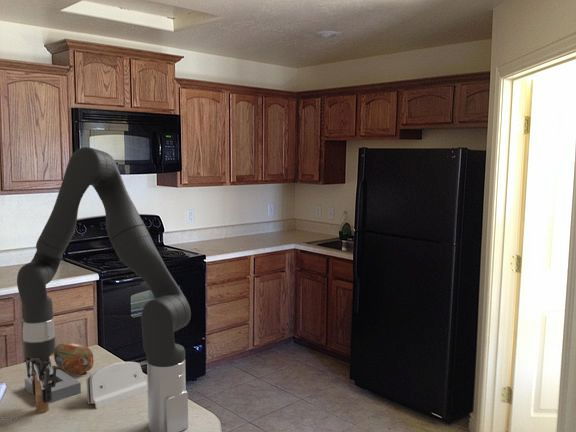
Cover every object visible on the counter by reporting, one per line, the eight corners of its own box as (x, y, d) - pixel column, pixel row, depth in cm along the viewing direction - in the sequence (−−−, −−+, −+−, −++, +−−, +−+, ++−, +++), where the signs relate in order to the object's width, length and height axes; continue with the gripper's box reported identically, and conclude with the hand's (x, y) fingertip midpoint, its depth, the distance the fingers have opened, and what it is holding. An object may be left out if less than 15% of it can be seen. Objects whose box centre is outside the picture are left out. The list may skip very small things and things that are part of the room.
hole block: (80, 392, 151) (80, 382, 151) (45, 404, 144) (44, 393, 144) (59, 378, 161) (58, 369, 161) (25, 388, 154) (24, 378, 153)
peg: (50, 410, 141) (49, 374, 140) (39, 414, 138) (37, 377, 137) (45, 406, 143) (44, 371, 142) (34, 410, 141) (32, 374, 139)
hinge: (95, 409, 141) (88, 371, 143) (88, 409, 145) (81, 372, 146) (150, 390, 154) (143, 355, 155) (142, 390, 157) (135, 356, 158)
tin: (53, 367, 169) (52, 342, 168) (61, 364, 172) (60, 339, 171) (87, 376, 163) (87, 350, 162) (95, 372, 166) (95, 346, 165)
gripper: (65, 339, 136) (68, 402, 138) (42, 326, 146) (44, 385, 148) (35, 346, 131) (38, 412, 133) (13, 333, 141) (16, 394, 142)
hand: (41, 397), depth 140 cm, fingers open, 5 cm apart
